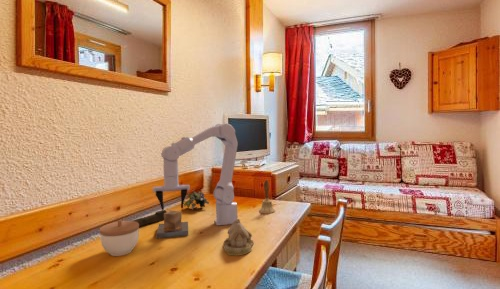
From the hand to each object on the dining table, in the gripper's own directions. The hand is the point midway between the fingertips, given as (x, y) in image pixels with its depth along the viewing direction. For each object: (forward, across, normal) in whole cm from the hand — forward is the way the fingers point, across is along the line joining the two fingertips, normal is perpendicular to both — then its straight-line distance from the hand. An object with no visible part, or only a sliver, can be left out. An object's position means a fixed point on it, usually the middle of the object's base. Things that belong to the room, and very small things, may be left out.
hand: (172, 208), depth 124 cm
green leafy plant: (+10, -10, -33) cm, 36 cm away
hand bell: (+10, -45, -19) cm, 50 cm away
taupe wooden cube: (+8, 0, 0) cm, 8 cm away
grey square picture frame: (+10, 0, 0) cm, 10 cm away
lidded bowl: (+10, +17, +16) cm, 25 cm away
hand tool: (+10, +11, -15) cm, 21 cm away
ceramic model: (+10, -24, +22) cm, 34 cm away
